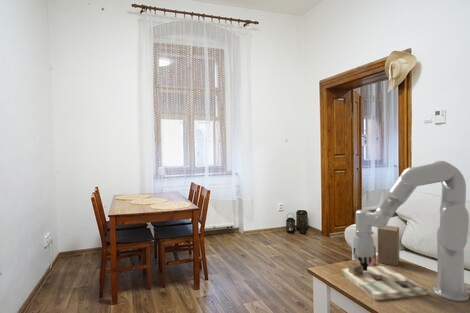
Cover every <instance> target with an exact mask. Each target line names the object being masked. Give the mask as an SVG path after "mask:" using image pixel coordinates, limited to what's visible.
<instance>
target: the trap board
mask: <svg viewBox="0 0 470 313" xmlns="http://www.w3.org/2000/svg"><path fill="white" fill-rule="evenodd" d="M340 275H342V276H345V277H344V278H345V279H347V280H348V281H349V282H351V283H352V284H353V285H354V286H356V287H357V288H358V289H360V290H361V292H364V293H365V294H366V295H367V296H369V297H370V298H371V299H373V300H374V301H379V300H380V301H381V300H389V299H399V298H407V297H408V298H410V297H417V296H426V295H427V296H428V288H426V287H424V286H423V285H421V284H419V283H418V282H416V281H414V280H412V279H410V278H408V277H407V276H405V275H403V274H401V273H399V272H398V271H397V270H395V269H393V268H391V267H389V266H387V265H386V264H384V265H382V264H381V265H374V266H367V271H363V275H353V274H351V273H350V272H349V267H348V268H347V267H346V268H341V269H340Z"/></svg>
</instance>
